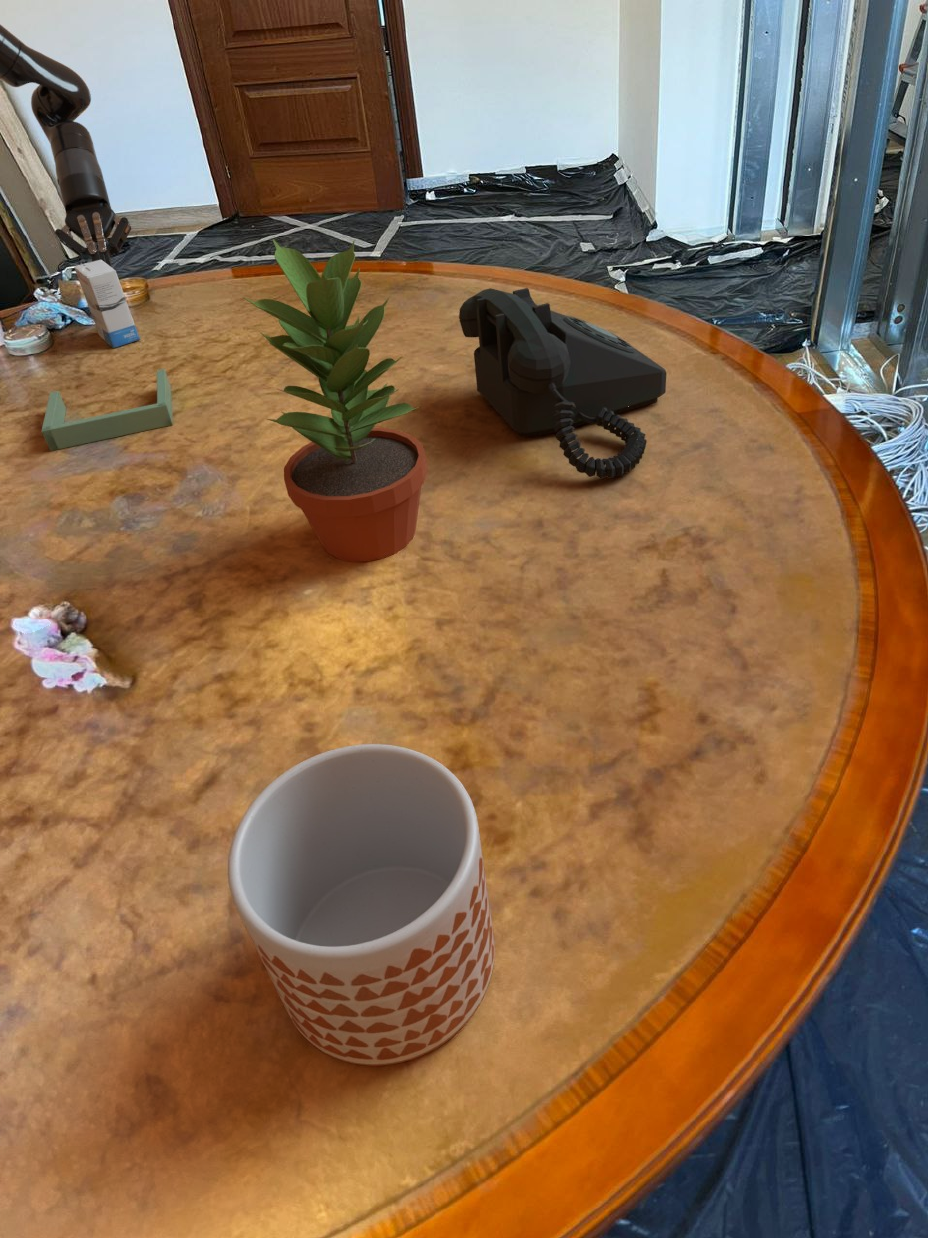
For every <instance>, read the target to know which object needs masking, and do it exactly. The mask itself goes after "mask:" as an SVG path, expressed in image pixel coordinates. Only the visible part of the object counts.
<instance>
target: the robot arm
mask: <svg viewBox="0 0 928 1238" xmlns="http://www.w3.org/2000/svg"><path fill="white" fill-rule="evenodd" d="M0 80H1V81H2V82H4V83H6V84H7V85H9V86H10V87H12V88H19V87H23V86H25V85H27V84H33V83H34V84H37V85H38V86H36V88H35V89H34V90H33V92H32V94H31V98H30V106H31V111H32V114H33V115H34V118H35V119H36V121H37V123H38V124H39V127H40V128H41V130H42V132H43V133H44V135H45V137H46V138H47V141H48V142H49V144H50V149H51V152H52V153H51V154H52V157H53V160H54V165H55V166H54V167H55V174H56V182H57V185H58V187H59V191H60V195H61V200H62V203H63V207H64V211H65V218H64V225H63V227H62V228H57V229H55V230H54V235H56V237H57V239H58V240H59V242H60V244H63V245H64V246H65V247H66V248H67V249H69V250H70V251H72V252H73V253H74V254H75V255H77V256H78V257H80V258H81V259H82V260H84V261H87V260H91V262H94V261H97V260H102V261H104V262H105V263H106V264H108V265H109V266H110V267H112V268H113V263H112V261H111V257H112V256H113V255H118V254H119V253H120V252H121V250H122V247H123V246H124V244H125V243H126V240H127V239H128V236H129V234H131V233H130V232H131V231H132V226H131V223H130V222H129V220H128V218H127V217H126V216H123V217H119V216H117V215H116V213H115V211H114V210H113V209H112V205H111V203H110V198H109V193H108V190H107V187H106V183H105V178H104V175H103V172H102V168H101V166H100V164H99V160H98V157H97V154H96V153H97V152H96V150H95V146H94V141H93V139H92V136H91V134H90V131H89V130H88V128H87V127H85V125H83V124H82V123H80V122H78V121H75V120H77V118H78V117H80V116H81V115H82V113H84V112H85V111H86V110H87V109H88V108H89V106H90V105H91V103H92V102H91V101H92V96H91V95H92V94H91V91H90V89H89V87H88V85H87V83H86V81H84V79H83V78H82V77H81V76H80V75H79V74H78V73H77V72H76V71H75V70H73V69H72V68H71V67H70V66H67V65H65V64H63V63H61V62H60V61H57V60H55V59H53V58H51V57H49V56H48V55H45V54H43V53H42V52H39V51H38V50H35V49H33V48H31V47H30V46H28V45H26V44H25V43H24V42H22V41H21V40H20V39H19V38H18V37H17V36H15V35H14V34H13V33H12V32H11V31H9V30H8V29H7V28H5V27H4V26H3V25H2V24H0ZM114 228H115V229H114ZM113 230H114V231H113ZM112 231H113V233H112ZM72 233H73V234H74V235H75V236H77V238H79V239H80V240H81V241H83V242H85V244H86V247H85V246H83V245H82V244H81V243H79V242H78V241H77V240H75V238H74V236H73V234H72ZM111 234H112V235H111ZM110 236H111V237H110ZM109 237H110V238H109ZM108 238H109V239H108ZM96 242H97V243H96Z"/></svg>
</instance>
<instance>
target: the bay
mask: <svg viewBox="0 0 928 1238" xmlns="http://www.w3.org/2000/svg"><path fill="white" fill-rule="evenodd" d="M156 400H157V401H156V403H153V404H147V405H144V406H138V407H134V408H129V409H124V410H119V411H114V412H109V413H106V414H101V415H96V416H91V417H85V418H81V419H77V420H71V421H67V422H65V418H66V414H67V407H66V405H65V402H64V401H63V398H62V396H61V393H60V390H54V391H50V392H49V394H48V400H47V403H46V409H45V413H44V417H43V423H42V427H41V431H40V432H41V433H42V436H43V438H44V440H45V442H46V445H47V447H48V450H49V451H50V452H53V451H58V450H62V449H67V448H72V447H76V446H81V445H87V444H90V443H94V442H99V441H104V440H109V439H114V438H118V437H123V436H127V435H132V434H136V433H140V432H146V431H149V430H150V431H151V430H155V429H160V428H164V427H170V426H173V425H174V419H173V418H174V417H173V416H174V415H173V397H172V386H171V383H170V380H169V377H168V374H167V371H166V369H165V368H162V369H161V368H160V369H157V370H156Z"/></svg>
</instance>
